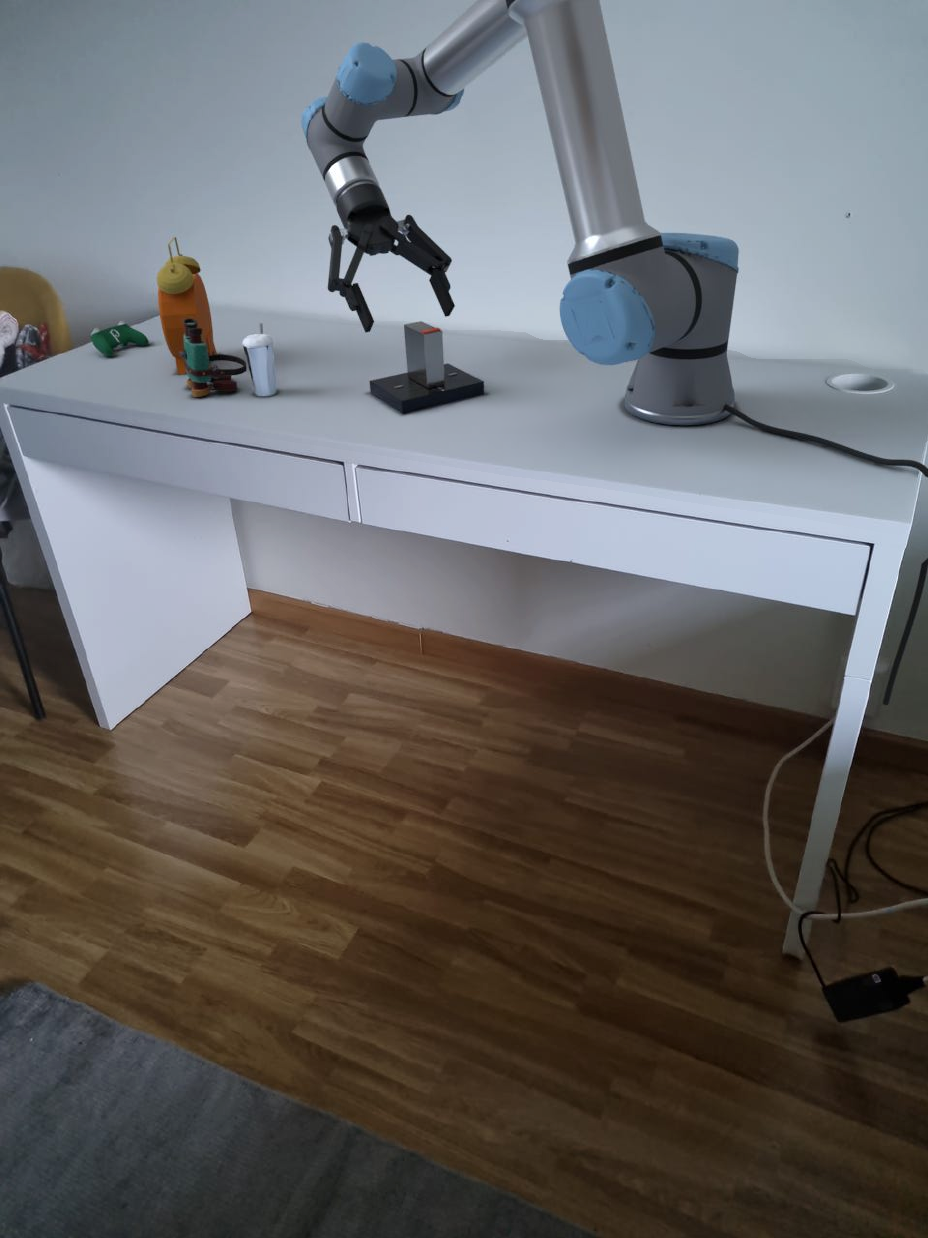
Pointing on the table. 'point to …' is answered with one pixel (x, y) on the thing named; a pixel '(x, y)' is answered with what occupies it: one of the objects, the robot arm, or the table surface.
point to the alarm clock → (183, 304)
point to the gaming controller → (116, 338)
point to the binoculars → (206, 363)
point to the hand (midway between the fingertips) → (410, 319)
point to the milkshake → (261, 362)
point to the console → (426, 390)
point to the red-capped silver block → (424, 354)
